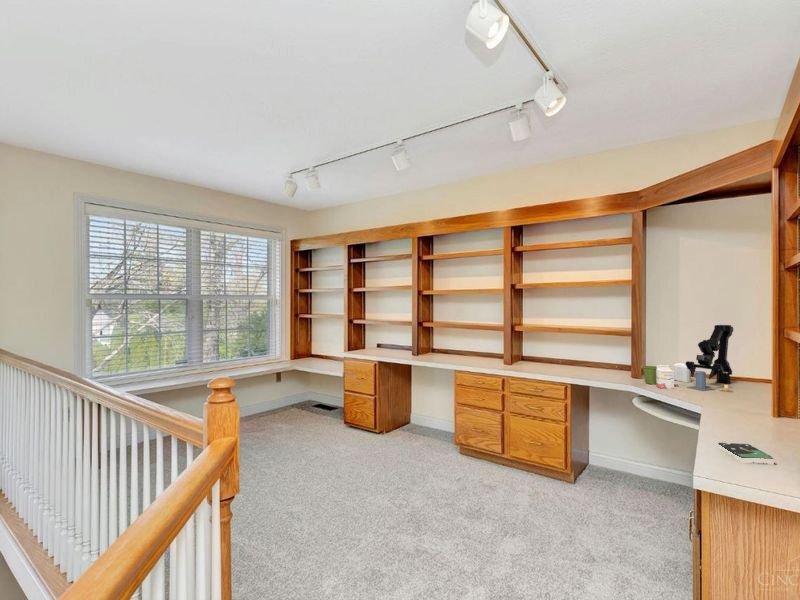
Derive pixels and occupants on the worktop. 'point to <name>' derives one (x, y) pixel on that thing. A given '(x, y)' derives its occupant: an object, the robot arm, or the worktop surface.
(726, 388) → the terracotta saucer
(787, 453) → the worktop surface
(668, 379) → the ink cartridge box
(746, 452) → the disk drive
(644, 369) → the plant pot
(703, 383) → the domed octagonal peg
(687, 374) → the photo printer
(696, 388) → the rubber mat
